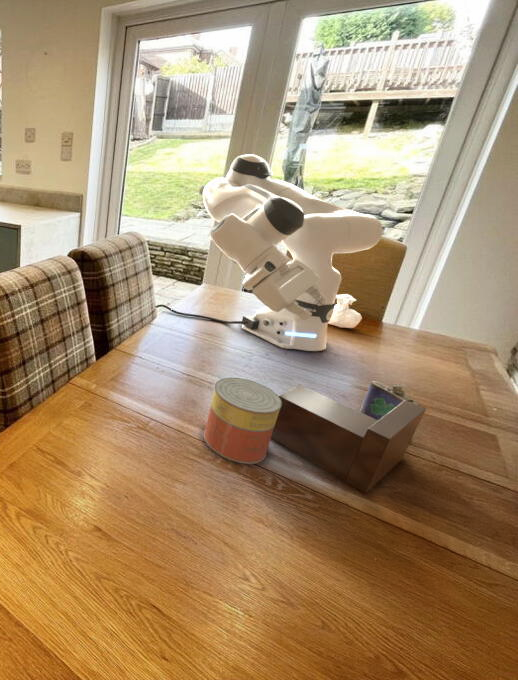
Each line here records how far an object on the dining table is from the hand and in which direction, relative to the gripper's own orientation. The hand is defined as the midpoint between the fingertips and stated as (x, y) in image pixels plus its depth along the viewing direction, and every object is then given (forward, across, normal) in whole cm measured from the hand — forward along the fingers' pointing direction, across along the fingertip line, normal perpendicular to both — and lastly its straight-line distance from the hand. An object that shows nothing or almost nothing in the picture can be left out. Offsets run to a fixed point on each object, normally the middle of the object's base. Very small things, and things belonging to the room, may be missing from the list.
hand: (316, 310), depth 90 cm
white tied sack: (+11, -53, -26) cm, 60 cm away
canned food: (+10, +33, -15) cm, 38 cm away
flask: (+26, +3, -8) cm, 28 cm away
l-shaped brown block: (+21, +19, -9) cm, 30 cm away
